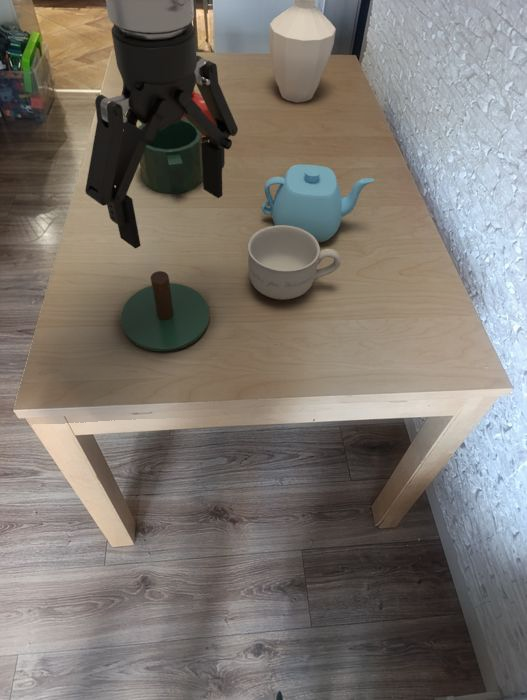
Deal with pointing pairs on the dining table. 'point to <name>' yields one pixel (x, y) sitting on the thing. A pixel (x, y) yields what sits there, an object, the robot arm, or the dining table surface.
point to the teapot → (311, 200)
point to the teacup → (286, 261)
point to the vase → (300, 49)
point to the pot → (173, 159)
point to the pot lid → (164, 315)
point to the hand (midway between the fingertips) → (173, 216)
